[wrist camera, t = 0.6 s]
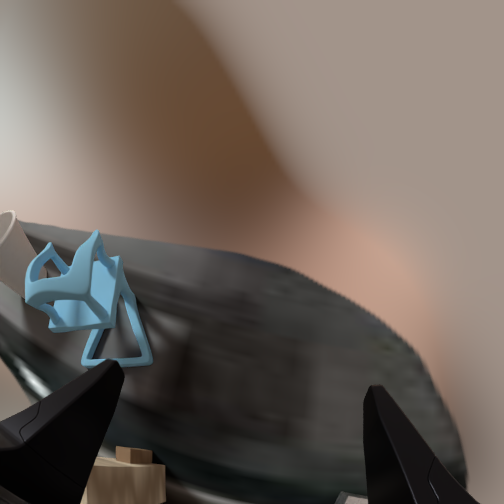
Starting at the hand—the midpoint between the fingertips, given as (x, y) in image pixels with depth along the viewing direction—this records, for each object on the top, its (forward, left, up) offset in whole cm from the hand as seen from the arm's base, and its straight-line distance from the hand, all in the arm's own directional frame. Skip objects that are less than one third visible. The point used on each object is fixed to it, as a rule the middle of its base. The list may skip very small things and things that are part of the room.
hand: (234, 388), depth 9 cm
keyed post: (-8, +8, -14) cm, 18 cm away
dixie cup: (+9, +33, -14) cm, 37 cm away
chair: (+6, +15, -14) cm, 22 cm away
